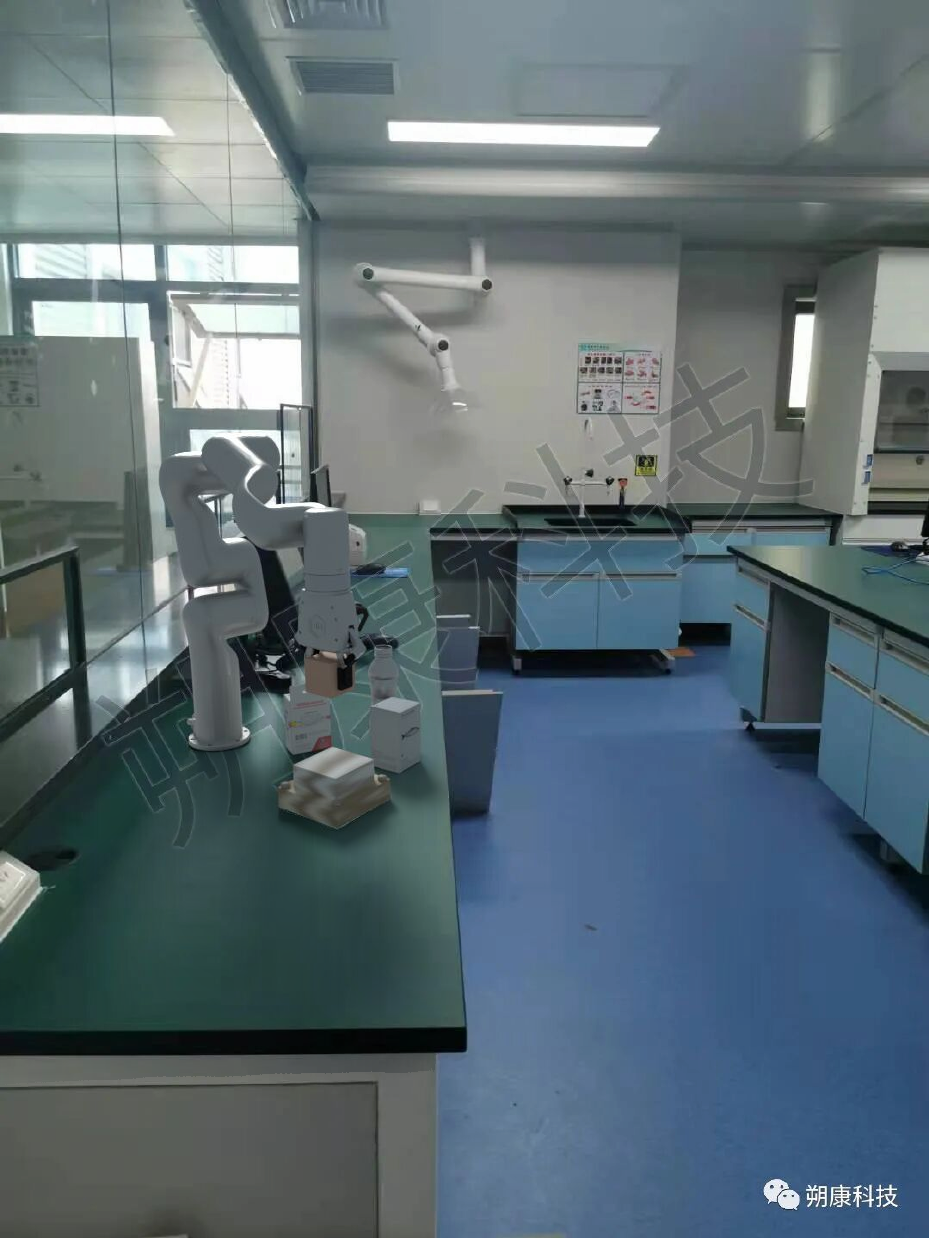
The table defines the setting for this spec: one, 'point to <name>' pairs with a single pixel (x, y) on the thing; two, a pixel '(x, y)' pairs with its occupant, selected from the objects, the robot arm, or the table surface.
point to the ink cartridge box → (306, 721)
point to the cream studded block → (334, 787)
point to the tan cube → (324, 675)
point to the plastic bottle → (383, 675)
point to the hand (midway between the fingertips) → (330, 683)
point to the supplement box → (395, 734)
